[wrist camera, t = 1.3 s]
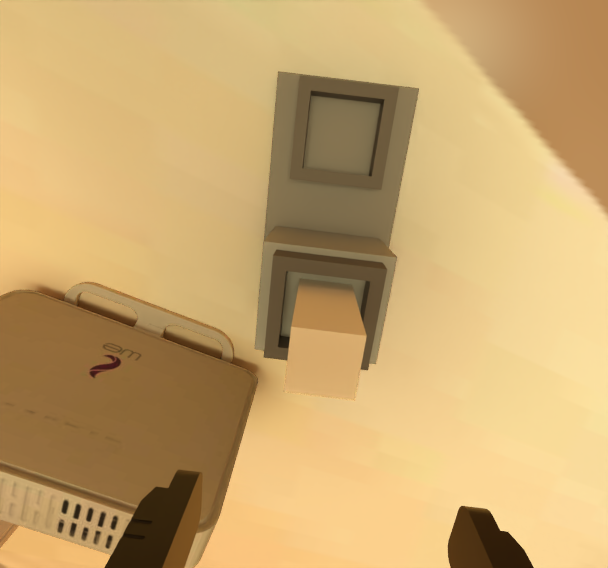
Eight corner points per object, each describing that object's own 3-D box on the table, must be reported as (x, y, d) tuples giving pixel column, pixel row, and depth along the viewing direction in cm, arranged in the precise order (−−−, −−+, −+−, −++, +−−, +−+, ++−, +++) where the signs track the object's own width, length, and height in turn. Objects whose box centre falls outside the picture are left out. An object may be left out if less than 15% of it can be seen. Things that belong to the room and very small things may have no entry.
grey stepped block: (279, 74, 31) (259, 26, 21) (416, 90, 31) (464, 51, 21) (259, 307, 38) (237, 359, 28) (372, 321, 38) (392, 379, 28)
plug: (299, 278, 28) (291, 326, 19) (351, 284, 28) (366, 336, 19) (293, 334, 29) (282, 403, 20) (342, 341, 29) (352, 412, 20)
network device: (269, 348, 40) (224, 514, 20) (244, 410, 42) (182, 609, 23) (40, 262, 38) (-246, 356, 19) (28, 332, 40) (-235, 479, 21)
